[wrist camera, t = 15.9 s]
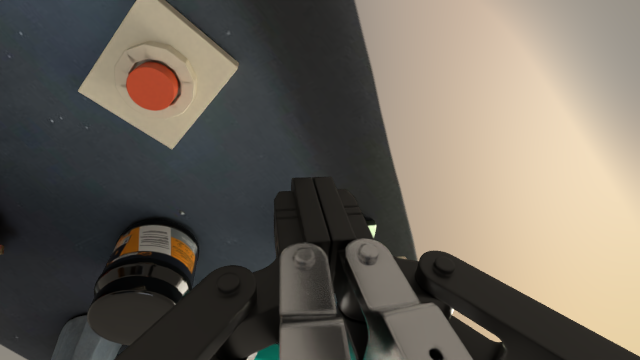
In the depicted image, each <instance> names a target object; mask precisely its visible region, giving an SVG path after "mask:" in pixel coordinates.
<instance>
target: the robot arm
mask: <svg viewBox="0 0 640 360" xmlns="http://www.w3.org/2000/svg"><path fill="white" fill-rule="evenodd" d="M274 237H275V248H276V259H275V261H274V262H273V263H272V264H271V265H269V266H268V267H266V268H264V269H262V270H259V271H256V272H253V273H252V272H251V271H250V270H248V269H247V268H244V267H242V266H236V265H230V266H224V267H221V268H218V269H216V270H214V271H213V272H211V273H210V274H209V275H207V276H206V277H205V278H204V279H203V280H202V281H201V282H200V283H199V284H197V285H196V286H195V287H194V288H193V289H192V290H191V291H190V292H189V293H187V294H186V295H185V296H184V297H183V298H182V299H181V300H180V301H179V302H177V303H176V304H175V305H174V306H173V307H172V308H171V309H170V310H169V311H167V312H166V313H165V314H164V315H163V316H162V317H161V318H160V319H159V320H157V321H156V322H155V323H154V324H153V325H152V326H151V327H150V328H149V329H147V330H146V331H145V332H144V333H143V334H142V335H141V336H140V337H139V338H137V339H136V340H135V341H134V342H133V343H132V344H131V345H130V346H129V347H127V348H126V349H125V350H124V351H123V352H122V353H121V354H120V355H118V356H117V357H116V358H115V359H114V360H254V359H255V357H256V355H257V353H258V351H260V350H262V349H265V348H267V347H269V346H271V345H273V344H275V343H277V342H279V353H278V360H640V357H639V356H637V355H636V354H634V353H632V352H630V351H628V350H626V349H625V348H623V347H621V346H619V345H617V344H615V343H613V342H611V341H610V340H608V339H606V338H604V337H602V336H601V335H599V334H597V333H595V332H593V331H591V330H589V329H587V328H586V327H584V326H582V325H580V324H578V323H576V322H575V321H573V320H571V319H569V318H567V317H565V316H564V315H562V314H560V313H558V312H556V311H554V310H552V309H550V308H549V307H547V306H545V305H543V304H541V303H539V302H538V301H536V300H534V299H532V298H530V297H528V296H527V295H525V294H523V293H521V292H519V291H517V290H516V289H514V288H512V287H510V286H508V285H506V284H504V283H503V282H501V281H499V280H497V279H495V278H493V277H491V276H489V275H488V274H486V273H484V272H482V271H480V270H479V269H477V268H475V267H473V266H471V265H469V264H467V263H466V262H464V261H462V260H460V259H458V258H456V257H454V256H453V255H450V254H448V253H446V252H441V251H429V252H426V253H424V254H423V255H422V256H421V257H420V260H419V261H413V260H407V259H402V258H397V257H394V256H392V255H391V253H390V251H389V250H388V249H387V248H386V247H385V246H384V245H383V244H381V243H380V242H378V241H375V240H374V238H373V236H372V234H371V231H370V229H369V227H368V225H367V223H366V221H365V219H364V216H363V215H362V212H361V210H360V208H359V207H358V204H357V201H356V199H355V197H354V196H353V195H352V194H351V193H349V192H348V191H347V190H346V189H337V188H336V186H335V183H334V181H333V179H332V177H312V178H311V177H308V178H292V182H291V191H281V192H278V194H277V196H276V198H275V199H274ZM334 293H335V294H336V298H337V306H336V305H335V299H334ZM454 309H455V310H456V311H458V312H460V313H461V314H462V315H464V316H466V317H467V318H469V319H471V320H472V321H474V322H475V323H477V324H478V325H480V326H482V327H483V328H485V329H486V330H488V331H489V332H491V333H493V334H494V335H496V336H497V337H498V338H499V339H500V340H501V341H502V342H494V341H492V340H489V339H488V338H486V337H485V336H483V335H482V334H480V333H479V332H477V331H475V330H474V329H472V328H471V327H469V326H468V325H466V324H465V323H463V322H461V321H460V320H459V319H457V318H455V317H454V316H452V313H453V311H454Z"/></svg>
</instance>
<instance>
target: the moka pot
mask: <svg viewBox="0 0 640 360" xmlns="http://www.w3.org/2000/svg"><path fill="white" fill-rule="evenodd" d="M121 345H122V344H118V343H114V342H111V341H108V340H106V339H104V338H102V337H100V336H99V335H97V334H96V333H95V332H94V331H93V330H92V329H91V327H90V326H89V324H88V321H87V315H84V316H79V317H76V318H74V319H72V320H70V321H68V322H67V323H66V324H65V326H64V327H63V328H62V330H61V333H60V335H59V338H58V341H57V344H56V347H55V350H54V353H53V356H52V359H51V360H114V359H115V357H116V355H117V353H118V351H119V349H120V347H121Z"/></svg>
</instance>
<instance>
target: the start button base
mask: <svg viewBox="0 0 640 360" xmlns="http://www.w3.org/2000/svg"><path fill="white" fill-rule="evenodd" d="M146 62H156V63H160V64H162V65H164V66H166V67H167V68H169V69H170V70H171V71H172V72H173V73H174V75H175V77H176V79H177V81H178V93H177V95H176V97H175V98H174V100H173V102H172V103H171V104H170V105H169V106H168V107H167V108H165V109H163V110H158V111H152V110H147V109H144V108H142V107H140V106H139V105H137V104H136V103H135V102H134V101H133V100H132V99H131V97H130V96H129V94H128V92H127V88H126V81H127V77H128V75H129V74H130V73H131V72H132V71H133V70H134V69H135V68H137V67H138V66H139V65H141V64H143V63H146ZM238 65H239V63H238V62H237V61H236V60H235V59H234V58H232V57H231V56H230V55H229V54H228V53H226V52H225V51H224V50H223V49H222V48H221V47H219V46H218V45H217V44H216V43H215V42H214V41H212V40H211V39H210V38H209V37H208V36H206V35H205V34H204V33H203V32H202V31H201V30H199V29H198V28H197V27H196V26H195V25H193V24H192V23H191V22H190V21H189V20H188V19H186V18H185V17H184V16H183V15H182V14H180V13H179V12H178V11H177V10H176V9H175V8H173V7H172V6H171V5H170V4H169V3H168V2H166V1H165V0H136V2H135V3H134V5H133V6H132V8H131V9H130V11H129V12H128V14H127V15H126V17H125V19H124V20H123V22H122V23H121V25H120V26H119V28H118V29H117V31H116V32H115V34H114V36H113V37H112V39H111V40H110V42H109V43H108V45H107V46H106V48H105V49H104V51H103V53H102V54H101V56H100V57H99V59H98V60H97V62H96V63H95V65H94V67H93V68H92V70H91V71H90V73H89V74H88V76H87V77H86V79H85V80H84V82H83V84H82V85H81V87H80V88H79V90H78V92H80V93H81V94H83V95H85V96H86V97H88V98H89V99H91V100H93V101H94V102H96V103H98V104H99V105H101V106H102V107H104V108H106V109H107V110H109V111H111V112H112V113H114V114H115V115H117V116H119V117H120V118H122V119H123V120H125V121H127V122H128V123H130V124H132V125H133V126H135V127H136V128H138V129H140V130H141V131H143V132H145V133H146V134H148V135H149V136H151V137H153V138H154V139H156V140H157V141H159V142H161V143H162V144H164V145H166V146H167V147H169V148H170V149H173V148H174V147H175V146H176V144H177V143H178V142H179V141H180V139H181V138H182V137H183V136H184V134H185V133H186V132H187V131H188V129H189V128H190V127H191V126H192V125H193V123H194V122H195V121H196V120H197V118H198V117H199V116H200V115H201V113H202V112H203V111H204V110H205V108H206V107H207V106H208V105H209V104H210V102H211V101H212V100H213V99H214V97H215V96H216V95H217V94H218V92H219V91H220V90H221V89H222V87H223V86H224V85H225V84H226V83H227V81H228V80H229V79H230V78H231V76H232V75H233V74H234V73H235V71H236V70H237V69H238Z"/></svg>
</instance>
